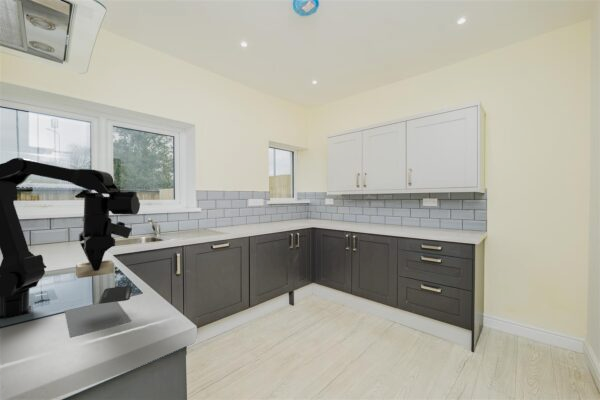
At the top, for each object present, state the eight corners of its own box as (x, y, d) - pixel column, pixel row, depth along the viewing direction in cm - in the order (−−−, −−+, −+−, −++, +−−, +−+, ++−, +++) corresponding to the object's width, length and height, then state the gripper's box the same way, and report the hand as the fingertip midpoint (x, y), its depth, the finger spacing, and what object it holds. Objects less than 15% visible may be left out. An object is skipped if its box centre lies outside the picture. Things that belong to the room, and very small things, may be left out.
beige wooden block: (77, 278, 70) (77, 266, 70) (75, 274, 73) (76, 263, 73) (113, 273, 76) (114, 262, 76) (110, 269, 79) (110, 259, 79)
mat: (64, 312, 73) (64, 310, 73) (116, 301, 81) (116, 299, 81) (69, 339, 59) (69, 337, 59) (131, 323, 67) (131, 321, 67)
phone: (131, 285, 95) (129, 298, 82) (131, 288, 95) (128, 302, 82) (104, 288, 91) (97, 303, 78) (104, 291, 91) (97, 307, 78)
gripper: (137, 215, 74) (135, 270, 73) (122, 212, 87) (121, 259, 87) (86, 216, 66) (84, 277, 66) (79, 213, 79) (77, 264, 79)
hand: (95, 268), depth 74 cm, fingers closed on beige wooden block, 5 cm apart
